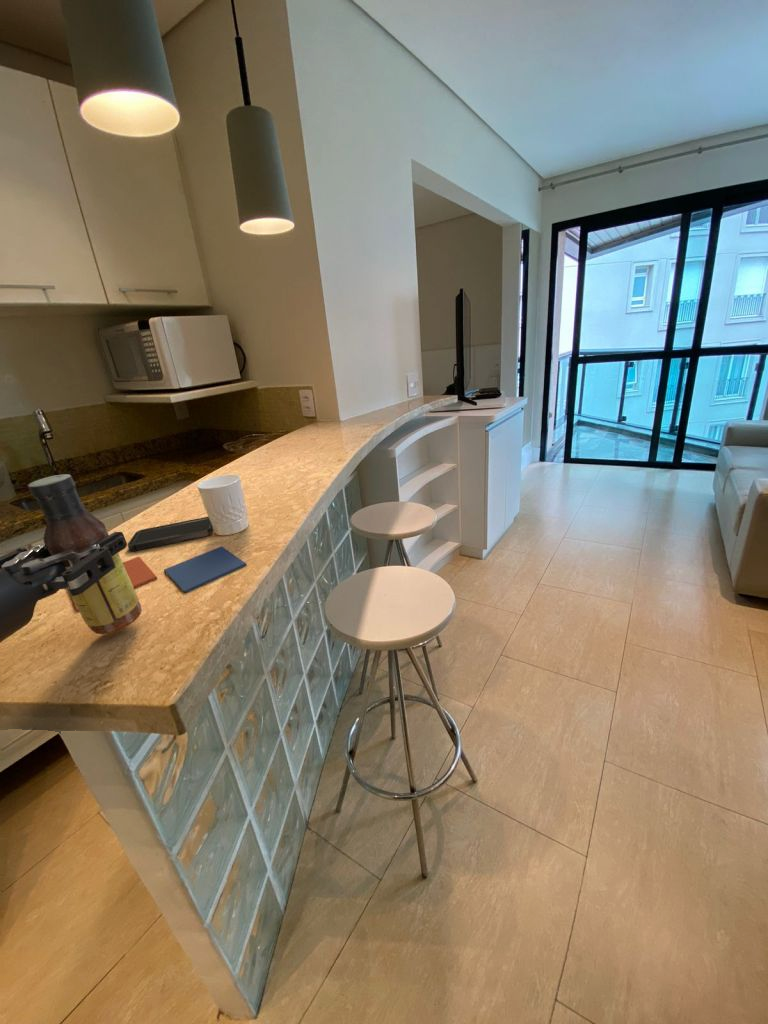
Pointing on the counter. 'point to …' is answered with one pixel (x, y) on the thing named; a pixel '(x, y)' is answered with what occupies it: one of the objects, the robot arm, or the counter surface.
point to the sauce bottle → (75, 530)
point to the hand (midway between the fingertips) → (98, 538)
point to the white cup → (224, 503)
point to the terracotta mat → (136, 573)
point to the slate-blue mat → (204, 568)
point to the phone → (170, 533)
